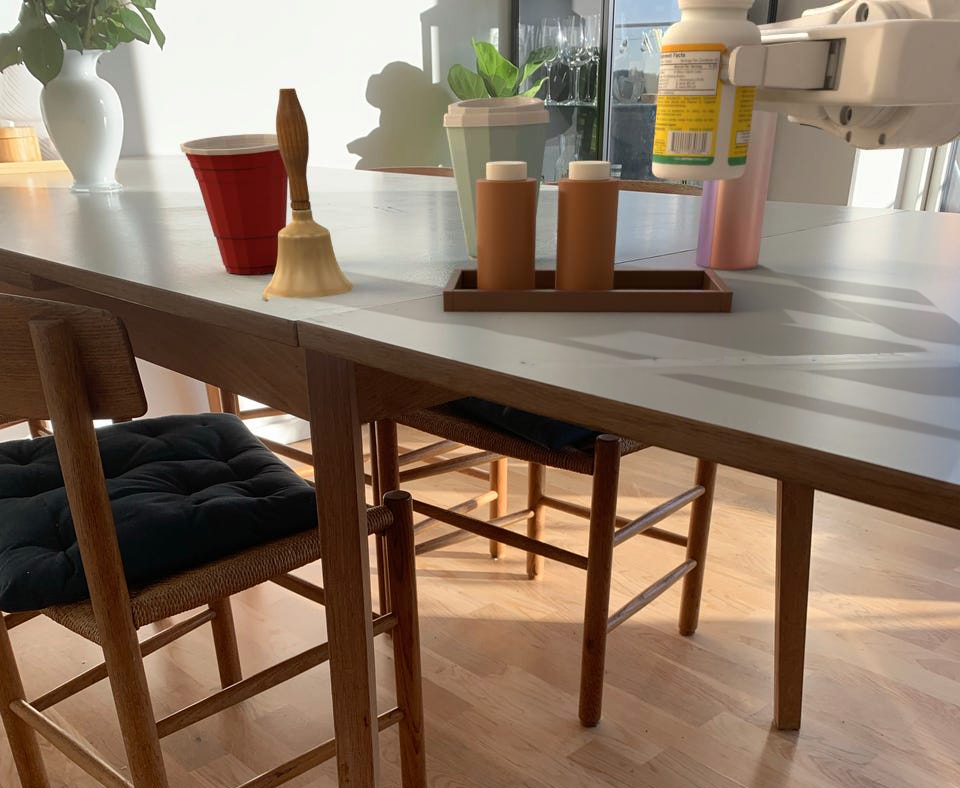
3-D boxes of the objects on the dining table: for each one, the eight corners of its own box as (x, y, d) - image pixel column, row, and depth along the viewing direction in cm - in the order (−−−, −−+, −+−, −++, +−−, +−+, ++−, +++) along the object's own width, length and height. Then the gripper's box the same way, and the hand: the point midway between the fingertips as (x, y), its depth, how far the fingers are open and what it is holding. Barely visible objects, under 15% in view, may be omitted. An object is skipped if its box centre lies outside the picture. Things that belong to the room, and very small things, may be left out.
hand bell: (308, 308, 79) (287, 88, 71) (243, 297, 84) (216, 89, 75) (376, 293, 85) (363, 87, 77) (311, 283, 89) (293, 88, 81)
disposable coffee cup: (541, 270, 94) (545, 97, 87) (436, 268, 96) (431, 98, 88) (551, 253, 103) (555, 96, 96) (455, 252, 105) (451, 97, 97)
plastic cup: (176, 276, 93) (154, 139, 87) (235, 259, 102) (218, 133, 96) (273, 282, 90) (257, 140, 84) (325, 264, 99) (314, 134, 93)
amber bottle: (606, 292, 81) (614, 159, 76) (617, 303, 77) (626, 164, 72) (551, 293, 81) (555, 160, 76) (559, 304, 77) (563, 164, 72)
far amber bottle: (531, 292, 82) (533, 160, 76) (537, 303, 77) (540, 164, 72) (475, 293, 81) (474, 160, 76) (479, 304, 77) (478, 165, 72)
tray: (709, 294, 83) (712, 268, 82) (730, 320, 74) (733, 292, 73) (454, 293, 84) (453, 268, 83) (443, 318, 75) (442, 291, 74)
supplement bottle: (673, 183, 52) (691, -29, 47) (637, 174, 57) (650, -20, 52) (762, 179, 53) (789, -28, 48) (719, 171, 58) (739, -19, 53)
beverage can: (682, 271, 93) (699, 96, 86) (716, 264, 97) (735, 95, 89) (735, 278, 89) (757, 96, 82) (768, 270, 93) (792, 95, 85)
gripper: (1025, 133, 49) (798, 140, 45) (791, 121, 66) (611, 125, 62) (1062, -15, 46) (820, -20, 42) (806, 12, 62) (617, 10, 59)
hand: (694, 67), depth 52 cm, fingers closed on supplement bottle, 5 cm apart
